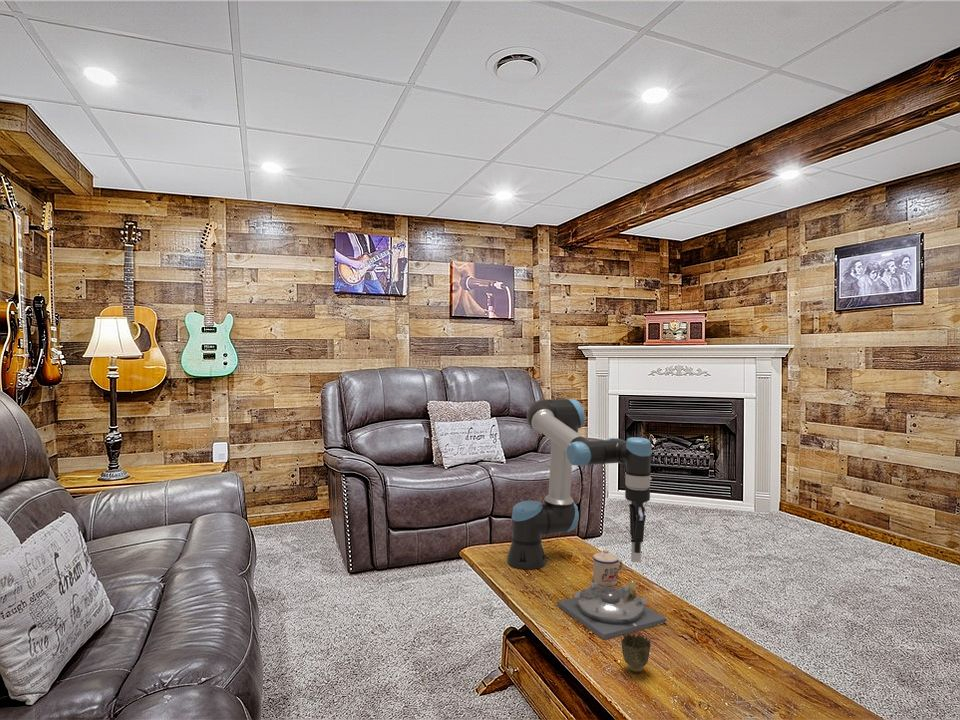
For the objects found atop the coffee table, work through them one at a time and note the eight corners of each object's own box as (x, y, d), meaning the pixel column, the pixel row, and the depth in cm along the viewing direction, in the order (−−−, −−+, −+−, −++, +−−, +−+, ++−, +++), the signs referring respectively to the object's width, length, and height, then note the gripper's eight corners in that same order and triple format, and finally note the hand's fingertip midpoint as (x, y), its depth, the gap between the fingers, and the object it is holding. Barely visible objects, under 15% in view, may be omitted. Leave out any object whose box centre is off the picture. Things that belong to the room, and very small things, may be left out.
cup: (628, 659, 153) (628, 630, 153) (654, 669, 148) (655, 639, 148) (615, 671, 147) (616, 640, 147) (642, 682, 143) (643, 650, 142)
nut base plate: (557, 605, 185) (557, 600, 185) (615, 592, 195) (615, 587, 195) (603, 639, 163) (604, 634, 163) (666, 623, 174) (666, 617, 174)
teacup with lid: (602, 588, 199) (603, 555, 199) (587, 578, 207) (588, 547, 207) (630, 583, 204) (630, 551, 203) (614, 574, 212) (614, 543, 212)
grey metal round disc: (599, 629, 166) (599, 602, 165) (565, 597, 187) (565, 573, 187) (658, 620, 172) (659, 594, 172) (619, 590, 193) (619, 567, 193)
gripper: (654, 493, 171) (652, 570, 172) (645, 482, 184) (643, 554, 185) (629, 492, 172) (627, 569, 172) (621, 482, 185) (620, 553, 185)
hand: (635, 561), depth 179 cm, fingers closed
